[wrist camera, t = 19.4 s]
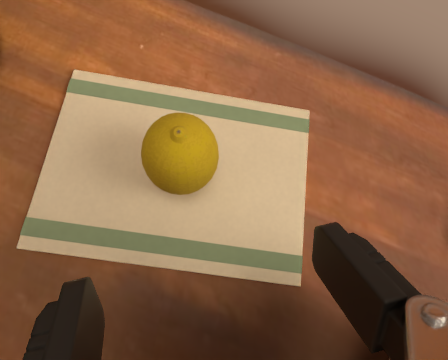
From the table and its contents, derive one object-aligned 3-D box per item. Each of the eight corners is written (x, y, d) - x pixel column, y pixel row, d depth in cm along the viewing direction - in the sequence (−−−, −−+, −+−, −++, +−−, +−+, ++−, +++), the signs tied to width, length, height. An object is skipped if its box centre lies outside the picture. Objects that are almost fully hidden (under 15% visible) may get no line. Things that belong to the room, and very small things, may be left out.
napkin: (18, 248, 24) (15, 248, 23) (75, 71, 28) (73, 68, 28) (299, 286, 25) (301, 286, 25) (308, 112, 30) (309, 110, 30)
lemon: (170, 132, 27) (163, 77, 20) (225, 162, 27) (240, 118, 20) (135, 184, 26) (113, 146, 18) (193, 216, 25) (196, 192, 18)
